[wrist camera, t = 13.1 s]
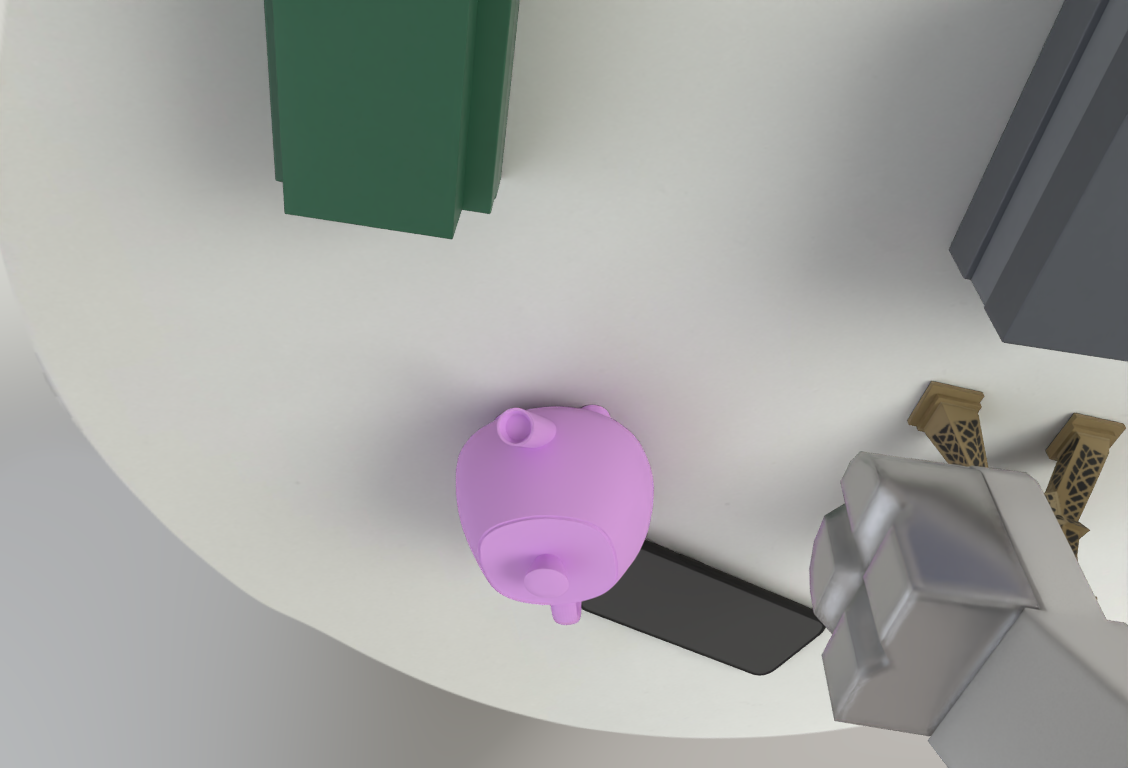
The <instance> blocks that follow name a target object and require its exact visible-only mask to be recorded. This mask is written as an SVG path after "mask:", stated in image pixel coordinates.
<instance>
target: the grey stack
mask: <svg viewBox="0 0 1128 768" xmlns="http://www.w3.org/2000/svg"><path fill="white" fill-rule="evenodd" d="M949 251H950V253H951V255H952V257H953V259H954V261H955V263H956V264H957V266H958V268H959V270H960V272H961V274H962V276H963V278H965V279H970V280H971V281H972V283H973V285H974V287H975V289H976V291H977V293H978V294H979V296H980V298H981V300H982V302H983V304H984V309H985V311H986V313H987V315H988V316H989V318H990V320H991V322H992V324H993V326H994V328H995V329H996V331H997V333H998V335H999V337H1000V339H1001V341H1002V342H1004V343H1010V344H1016V345H1023V346H1029V347H1036V348H1043V349H1049V350H1056V351H1062V352H1069V353H1075V354H1082V355H1088V356H1095V357H1102V358H1108V359H1115V360H1121V361H1128V0H1065V2H1064V4H1063V6H1062V8H1061V10H1060V12H1059V14H1058V17H1057V19H1056V21H1055V23H1054V25H1053V27H1052V29H1051V32H1050V34H1049V36H1048V38H1047V40H1046V42H1045V44H1044V47H1043V49H1042V51H1041V53H1040V55H1039V57H1038V59H1037V62H1036V64H1035V66H1034V68H1033V70H1032V72H1031V74H1030V77H1029V79H1028V81H1027V83H1026V85H1025V87H1024V90H1023V92H1022V94H1021V96H1020V98H1019V100H1018V102H1017V105H1016V107H1015V109H1014V111H1013V113H1012V115H1011V117H1010V120H1009V122H1008V124H1007V126H1006V128H1005V130H1004V132H1003V135H1002V137H1001V139H1000V141H999V143H998V145H997V147H996V150H995V152H994V154H993V156H992V158H991V160H990V162H989V165H988V167H987V169H986V171H985V173H984V175H983V177H982V180H981V182H980V184H979V186H978V188H977V190H976V192H975V195H974V197H973V199H972V201H971V203H970V205H969V207H968V210H967V212H966V214H965V216H964V218H963V220H962V222H961V225H960V227H959V229H958V231H957V233H956V235H955V237H954V240H953V242H952V244H951V246H950V248H949Z"/></svg>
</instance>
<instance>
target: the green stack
mask: <svg viewBox="0 0 1128 768" xmlns="http://www.w3.org/2000/svg"><path fill="white" fill-rule="evenodd" d="M264 9H265V25H266V40H267V56H268V71H269V87H270V102H271V118H272V133H273V149H274V164H275V179H276V181H280V182H283V177H282V161H281V144H280V127H279V110H278V93H277V76H276V59H275V43H274V26H273V9H272V0H264ZM518 10H519V0H478V9H477V22H476V35H475V48H474V61H473V74H472V86H471V99H470V112H469V125H468V138H467V151H466V164H465V177H464V190H463V203H462V210H467V211H474V212H480V213H487V214H490V213H491V210H492V206H493V202H494V199H495V198H496V196H497V192H498V188H499V184H500V180H501V172H502V163H503V153H504V143H505V134H506V124H507V115H508V105H509V96H510V86H511V77H512V67H513V58H514V48H515V39H516V29H517V19H518Z"/></svg>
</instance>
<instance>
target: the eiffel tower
mask: <svg viewBox="0 0 1128 768" xmlns="http://www.w3.org/2000/svg"><path fill="white" fill-rule="evenodd" d="M983 397H984V395H983V393H982V392H979V391H974V390H970V389H965V388H961V387H956V386H952V385H947V384H943V383H938V382H934V381H931V383H930V385H929V386H928V388H927V389H926V391H925V393H924V394H923V396H922V397H921V399H920V401H919V402H918V404H917V406H916V407H915V409H914V410H913V412H912V414H911V415H910V417H909V419H908V420H907V422H908V424H909V425H912V426H917V429H918V431H922V432H925V433H926V435H927V436H928V438H929V439H930V440H931V442H932V443H933V444H934V446H935V447H936V448H937V450H938V451H939V452H940V453H941V455H942V456H943V457H944V459H945V460H946V461H947V463H948V464H954V465H961V466H966V467H969V466H978V467H986V468H988V464H987V459H986V453H985V448H984V442H983V437H982V431H981V426H980V420H979V415H978V412H979V410H980V409H981V407H982V406H981V404H980V402H981V400H982V399H983ZM1125 429H1126V427H1125V425H1124V424H1123V423H1118V422H1114V421H1109V420H1105V419H1100V418H1096V417H1091V416H1087V415H1082V414H1078V413H1074V414H1073V415H1072V417H1071V418H1070V419H1069V421H1068V422H1067V423H1066V425H1065V426H1064V427H1063V428H1062V430H1061V431H1060V432H1059V434H1058V435H1057V436H1056V438H1055V439H1054V440H1053V442H1052V443H1051V444H1050V445H1049V447H1048V448H1047V449H1046V453H1047V455H1048V457H1049V459H1051V460H1056V461H1057V463H1056V466H1055V468H1054V471H1053V473H1052V476H1051V479H1050V481H1049V484H1048V487H1047V489H1046V492H1045V493H1044V495H1045V497H1046V499H1047V501H1048V503H1049V505H1050V507H1051V509H1052V511H1053V513H1054V515H1055V517H1056V519H1057V521H1058V523H1059V525H1060V527H1061V529H1062V531H1063V533H1064V535H1065V537H1066V539H1067V541H1068V543H1069V545H1070V547H1071V549H1072V551H1073V553H1074V555H1075V557H1076V559H1077V561H1078V558H1077V553H1078V545H1079V539H1080V538H1081V537H1082V536H1084V535H1085V534H1086V533H1087V532H1089V531H1090V530H1089V529H1088V528H1087V527H1085V526H1084V525H1082V524H1081V523H1080V522H1078V520H1079V518H1080V516H1081V514H1082V512H1083V510H1084V508H1085V505H1086V503H1087V501H1088V499H1089V497H1090V495H1091V493H1092V490H1093V488H1094V486H1095V484H1096V481H1097V479H1098V477H1099V475H1100V472H1101V470H1102V468H1103V465H1104V463H1105V461H1106V459H1107V456H1108V454H1109V448H1110V447H1111V446H1112V445H1113V443H1114V442H1115V441H1116V440H1117V439H1118V437H1119V436H1120V435H1121V434H1122V433H1123V431H1124V430H1125ZM1095 597H1096V596H1095ZM1096 599H1097V597H1096Z"/></svg>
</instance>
